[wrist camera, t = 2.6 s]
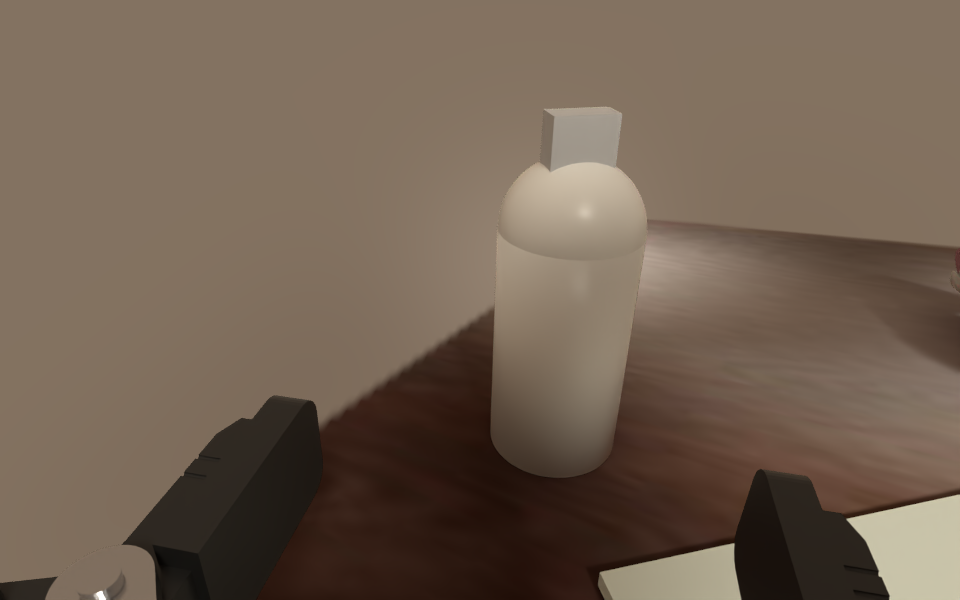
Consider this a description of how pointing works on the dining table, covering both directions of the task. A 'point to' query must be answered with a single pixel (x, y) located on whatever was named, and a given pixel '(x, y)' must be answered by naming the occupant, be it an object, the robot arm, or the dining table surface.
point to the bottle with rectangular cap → (565, 297)
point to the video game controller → (956, 273)
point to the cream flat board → (889, 534)
